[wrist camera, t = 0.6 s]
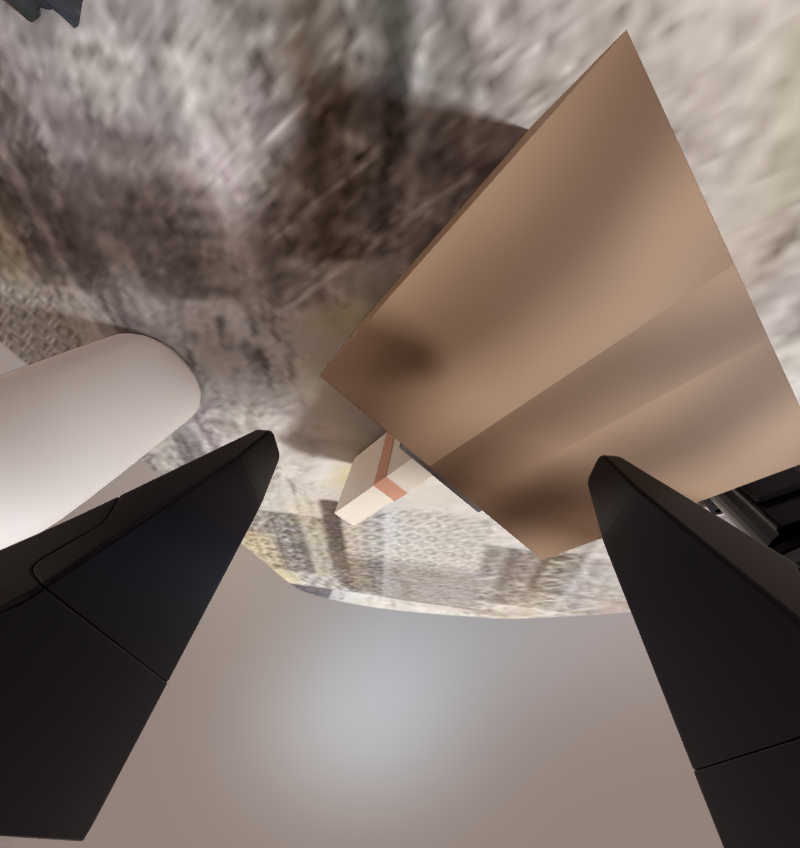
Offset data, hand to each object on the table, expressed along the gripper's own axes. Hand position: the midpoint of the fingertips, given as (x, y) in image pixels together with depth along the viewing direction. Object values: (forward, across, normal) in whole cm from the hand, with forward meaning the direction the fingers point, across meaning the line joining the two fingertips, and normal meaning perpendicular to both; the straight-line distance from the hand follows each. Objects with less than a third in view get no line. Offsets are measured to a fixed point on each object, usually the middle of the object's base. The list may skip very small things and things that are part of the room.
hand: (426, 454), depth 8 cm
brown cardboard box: (+13, -5, +1) cm, 14 cm away
